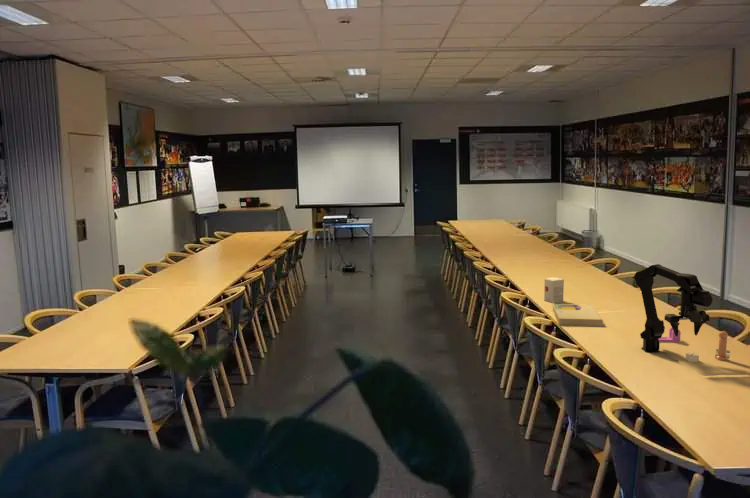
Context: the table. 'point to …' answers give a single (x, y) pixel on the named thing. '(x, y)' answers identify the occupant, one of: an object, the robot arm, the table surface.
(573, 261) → the table surface
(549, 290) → the supplement box
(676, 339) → the bracket
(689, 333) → the table surface
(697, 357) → the die
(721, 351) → the pawn
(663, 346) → the table surface
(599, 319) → the puzzle box
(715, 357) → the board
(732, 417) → the table surface
